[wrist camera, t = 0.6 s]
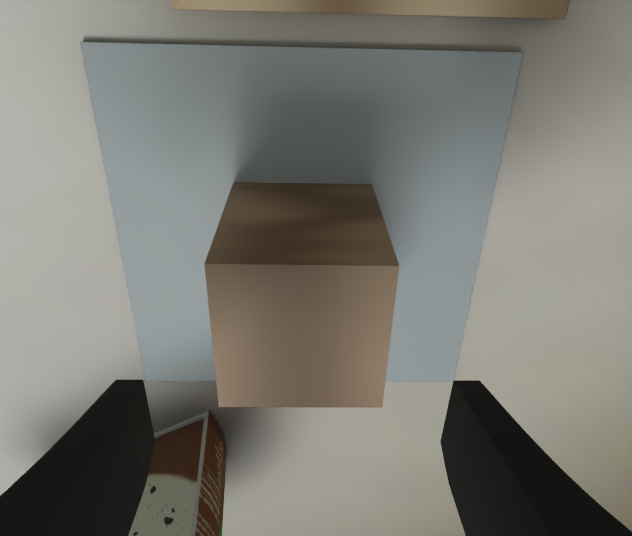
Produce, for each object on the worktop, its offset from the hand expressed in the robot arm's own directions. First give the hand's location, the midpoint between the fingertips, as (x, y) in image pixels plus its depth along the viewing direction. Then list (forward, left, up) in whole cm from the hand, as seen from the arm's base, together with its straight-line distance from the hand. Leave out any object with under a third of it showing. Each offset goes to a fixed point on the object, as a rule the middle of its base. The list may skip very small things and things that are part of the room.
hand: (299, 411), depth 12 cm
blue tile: (0, 0, -9) cm, 9 cm away
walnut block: (0, 0, -9) cm, 9 cm away
